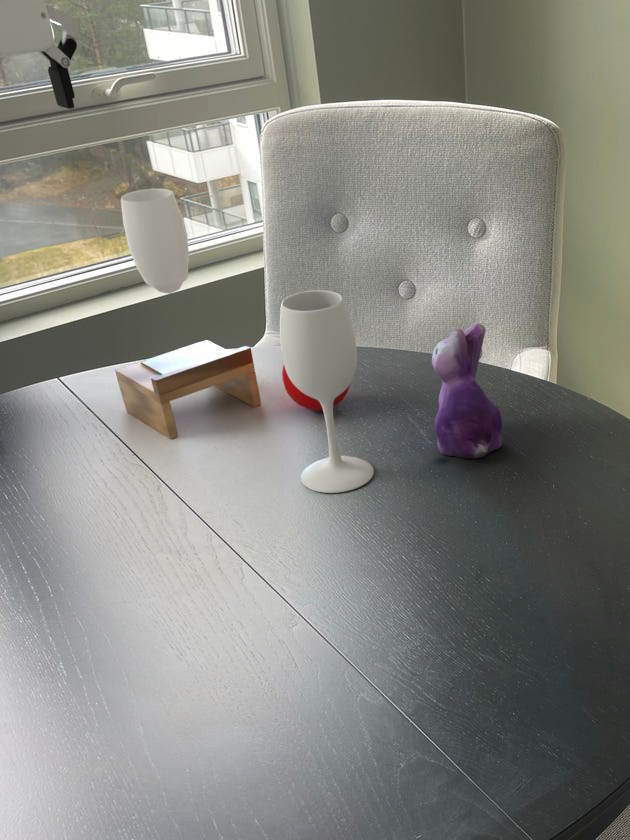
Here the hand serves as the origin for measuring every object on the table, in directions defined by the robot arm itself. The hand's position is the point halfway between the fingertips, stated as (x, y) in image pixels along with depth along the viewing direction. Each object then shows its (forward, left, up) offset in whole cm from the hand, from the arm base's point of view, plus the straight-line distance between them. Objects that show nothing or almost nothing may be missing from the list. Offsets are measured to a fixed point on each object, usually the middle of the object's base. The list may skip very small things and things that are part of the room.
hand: (26, 114), depth 110 cm
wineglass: (+38, +10, -36) cm, 54 cm away
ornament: (+21, +20, -36) cm, 47 cm away
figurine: (+43, +26, -36) cm, 62 cm away
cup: (+7, +9, -30) cm, 32 cm away
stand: (+8, +8, -36) cm, 38 cm away
